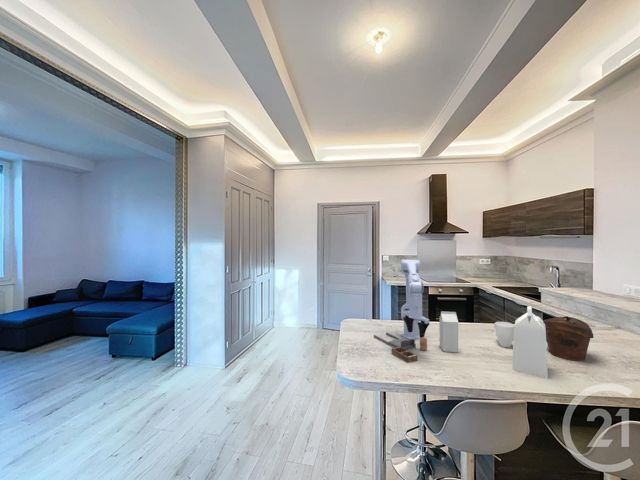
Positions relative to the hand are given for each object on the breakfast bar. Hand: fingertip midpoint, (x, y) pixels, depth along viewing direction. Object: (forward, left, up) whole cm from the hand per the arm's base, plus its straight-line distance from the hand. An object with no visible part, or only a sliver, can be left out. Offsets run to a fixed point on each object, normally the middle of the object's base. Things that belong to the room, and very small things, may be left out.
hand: (416, 334), depth 130 cm
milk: (-33, +32, -10) cm, 47 cm away
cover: (0, -10, -8) cm, 13 cm away
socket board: (+8, 0, -9) cm, 12 cm away
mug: (-50, +11, -10) cm, 52 cm away
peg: (-7, -2, -10) cm, 12 cm away
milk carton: (-19, +3, -10) cm, 21 cm away
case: (-64, +32, -10) cm, 72 cm away
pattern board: (0, -16, -9) cm, 19 cm away
